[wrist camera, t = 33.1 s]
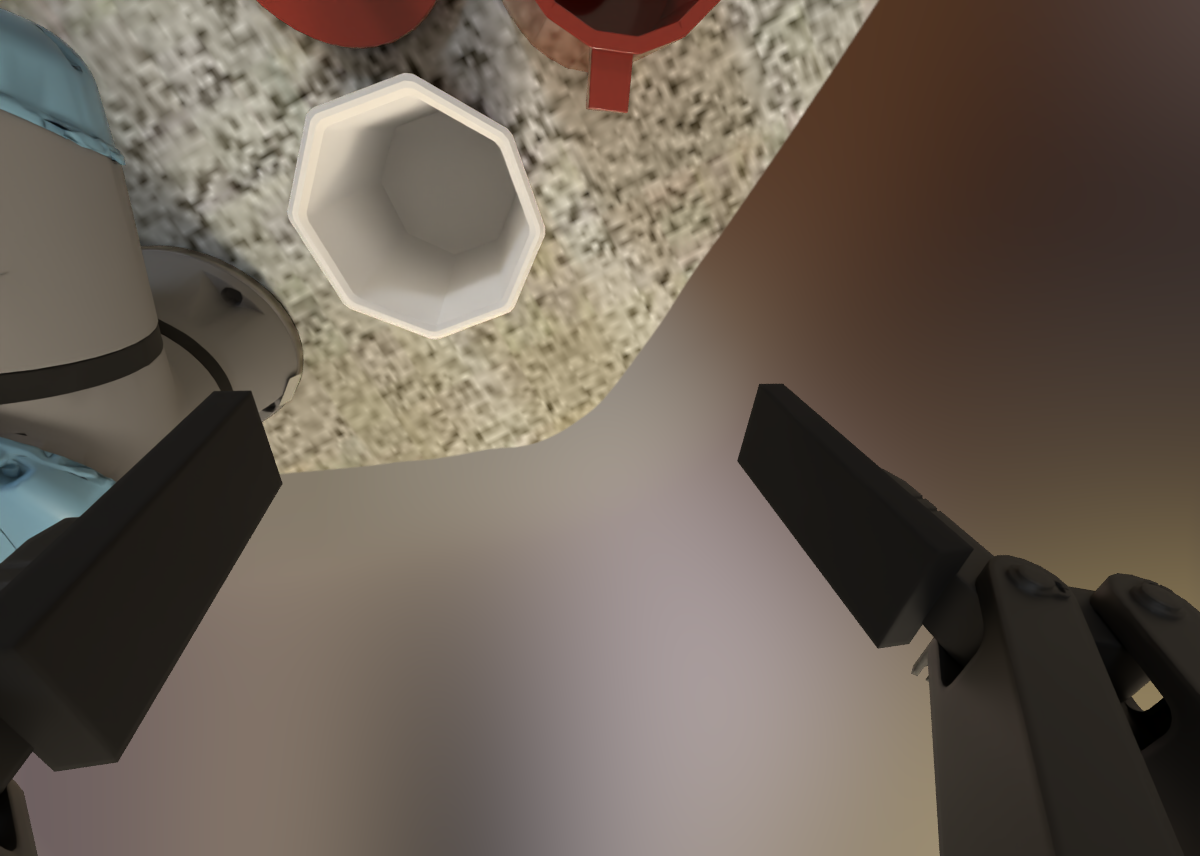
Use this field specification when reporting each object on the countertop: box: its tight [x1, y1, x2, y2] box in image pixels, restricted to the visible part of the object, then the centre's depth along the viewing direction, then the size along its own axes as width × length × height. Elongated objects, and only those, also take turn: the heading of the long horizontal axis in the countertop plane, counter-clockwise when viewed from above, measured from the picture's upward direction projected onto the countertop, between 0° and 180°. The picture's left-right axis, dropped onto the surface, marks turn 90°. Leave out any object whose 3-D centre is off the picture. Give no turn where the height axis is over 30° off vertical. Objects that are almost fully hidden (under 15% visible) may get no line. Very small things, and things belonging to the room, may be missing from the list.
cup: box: [287, 73, 545, 339], centre depth 29 cm, size 11×11×18 cm
